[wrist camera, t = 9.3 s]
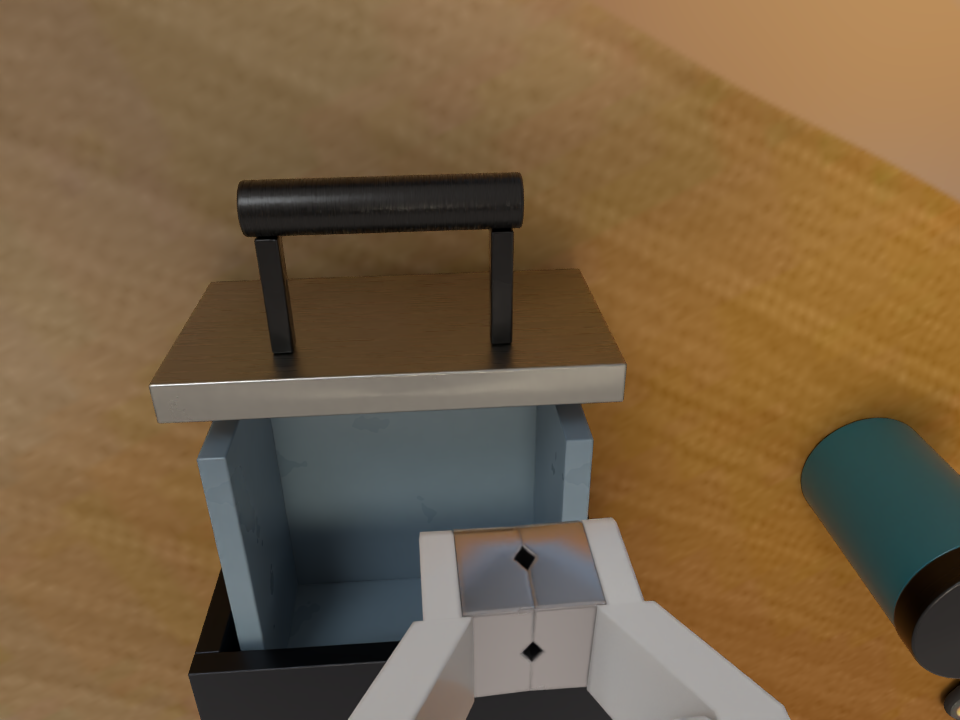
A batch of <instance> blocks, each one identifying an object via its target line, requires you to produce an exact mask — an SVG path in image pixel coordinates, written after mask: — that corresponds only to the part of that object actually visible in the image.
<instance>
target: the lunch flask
mask: <svg viewBox="0 0 960 720" xmlns="http://www.w3.org/2000/svg"><path fill="white" fill-rule="evenodd" d="M801 486H802V492H803V495H804V497H805V499H806V501H807V502H808V503H809V505H810V506H811V508H812V509H813V511H814V512H815V513H816V515H817V516H818V518H819V519H820V521H821V522H822V523H823V525H824V526H825V528H826V529H827V531H828V532H829V534H830V535H831V536H832V538H833V539H834V541H835V542H836V544H837V545H838V546H839V548H840V549H841V551H842V552H843V554H844V555H845V556H846V558H847V559H848V561H849V562H850V564H851V565H852V566H853V568H854V569H855V571H856V572H857V574H858V575H859V577H860V578H861V579H862V581H863V582H864V584H865V585H866V587H867V588H868V589H869V591H870V592H871V594H872V595H873V597H874V598H875V599H876V601H877V602H878V604H879V605H880V607H881V608H882V610H883V611H884V612H885V614H886V615H887V617H888V618H889V620H890V621H891V622H892V624H893V625H894V627H895V628H896V631H897V633H898V635H899V636H900V638H901V639H902V641H903V642H904V644H905V645H906V647H907V648H908V649H909V651H910V652H911V654H912V655H913V657H914V658H915V659H916V661H917V662H918V663H919V664H920V665H921V666H922V667H923V668H925V669H926V670H928V671H930V672H931V673H933V674H936V675H939V676H942V677H947V678H955V679H960V475H959V474H958V473H957V472H956V471H955V470H954V469H953V468H952V467H951V466H950V465H949V464H948V463H947V462H946V461H945V460H944V459H943V458H942V457H941V456H940V455H939V454H938V453H936V452H935V451H934V450H933V449H932V448H931V447H930V446H929V445H928V444H927V443H926V442H925V441H924V440H923V439H922V438H921V437H920V436H919V435H918V434H917V433H916V432H915V431H914V430H913V429H912V428H911V427H909V426H908V425H906V424H904V423H902V422H900V421H897V420H894V419H888V418H870V419H864V420H860V421H856V422H853V423H851V424H848V425H846V426H844V427H842V428H840V429H838V430H836V431H835V432H833V433H831V434H830V435H829V436H827V437H826V438H825V439H824V440H823V441H822V442H820V443H819V444H818V445H817V447H816V448H815V449H814V450H813V451H812V453H811V454H810V456H809V457H808V459H807V461H806V463H805V465H804V468H803V472H802V476H801Z"/></svg>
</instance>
